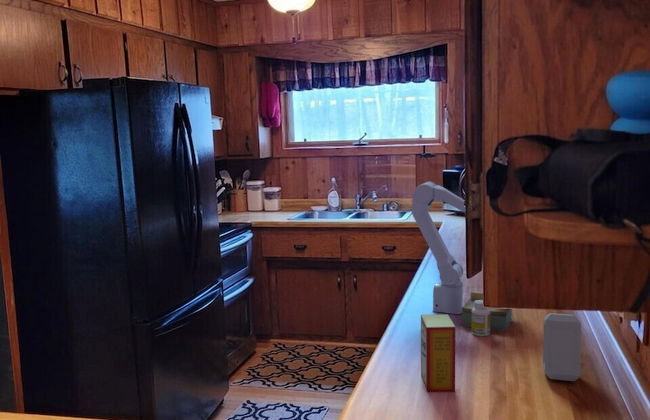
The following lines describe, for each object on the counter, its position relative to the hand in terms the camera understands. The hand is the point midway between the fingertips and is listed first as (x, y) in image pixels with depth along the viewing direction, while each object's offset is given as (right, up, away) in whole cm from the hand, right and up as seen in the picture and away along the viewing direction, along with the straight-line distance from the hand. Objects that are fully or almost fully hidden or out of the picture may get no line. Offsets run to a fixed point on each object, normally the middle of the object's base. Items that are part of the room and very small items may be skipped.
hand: (496, 294), depth 191 cm
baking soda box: (-29, -14, -50) cm, 60 cm away
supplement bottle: (-10, -9, -16) cm, 21 cm away
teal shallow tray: (-5, -8, -8) cm, 12 cm away
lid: (-5, -3, -8) cm, 10 cm away
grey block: (+4, -12, -39) cm, 41 cm away
